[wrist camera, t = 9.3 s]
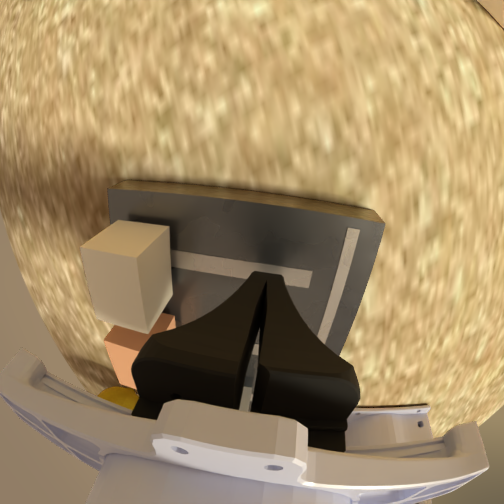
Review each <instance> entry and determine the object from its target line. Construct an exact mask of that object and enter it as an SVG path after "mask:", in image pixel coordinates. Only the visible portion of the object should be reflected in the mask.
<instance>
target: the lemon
mask: <svg viewBox="0 0 504 504" xmlns="http://www.w3.org/2000/svg"><path fill="white" fill-rule="evenodd" d="M98 397H100V398H102V399H105V400H107V401H110V402H112V403H114V404H117V405H120V406H122V407H125V408H127V409H130V410H133V409H134V407H135V405H136V403H137V401H138V399H139V397H138V396H137V395H136V394H135V391H134V389H133V388H130V387H128V388H124V387H110V388H107V389H105V390H103V391H102V392H101V393H100V394H99V395H98Z"/></svg>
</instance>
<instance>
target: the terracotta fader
mask: <svg viewBox="0 0 504 504" xmlns="http://www.w3.org/2000/svg"><path fill="white" fill-rule="evenodd" d="M174 328H176V325H175V316H174V315H170V314H165V313H161V314H160V316H159V318H158V319H157V321H156V322H155V324H154V326H153V327H152V329H151V331H150V332H149V334H145V333H142V332H138V331H134V330H131V329H127V328H124V327H121V326H117V325H114V327H113V328H112V329H111V331H110V332H109V333H108V335H107V336H106V338H105V339H104V343H105V346H106V349H107V351H108V354H109V357H110V360H111V362H112V365H113V368H114V370H115V373H116V375H117V378H118V380H119V383H120V384H122V385H125V386H128V387H130V388H133V389H136V390H137V388H136V386H135V383H134V380H133V377H132V373H131V367H132V363H133V362H134V360H135V358H136V357H137V355H138V353H139V352H140V350H141V348H142V347H143V345H144V344H145V343H146V342H147V340H148V339H149V338H150V337H151V335H152V334H156V333H160V332H163V331H167V330H170V329H174Z"/></svg>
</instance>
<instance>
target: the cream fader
mask: <svg viewBox="0 0 504 504" xmlns="http://www.w3.org/2000/svg"><path fill="white" fill-rule="evenodd" d="M80 251H81V257H82V262H83V266H84V271H85V275H86V280H87V284H88V288H89V292H90V296H91V300H92V304H93V307H94V311H95V314H96V318H97V319H98V320H101V321H104V322H108V323H111V324H114V325H117V326H121V327H124V328H127V329H131V330H134V331H138V332H142V333H145V334H149V332H150V331H151V329H152V327H153V326H154V324H155V322H156V321H157V319H158V318H159V316H160V314H161V313H162V311H163V310H164V308H165V306H166V305H167V303H168V302H169V300H170V298H171V297H172V295H173V290H172V275H171V256H170V229H169V226H163V225H155V224H148V223H140V222H132V221H124V220H117V221H116V222H114V223H113V224H111V225H110V226H108V227H107V228H105V229H104V230H103V231H101V232H100V233H98V234H97V235H96V236H94V237H93V238H91V239H90V240H89V241H87V242H86V243H84V244H83V245H82V246H80Z"/></svg>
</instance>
